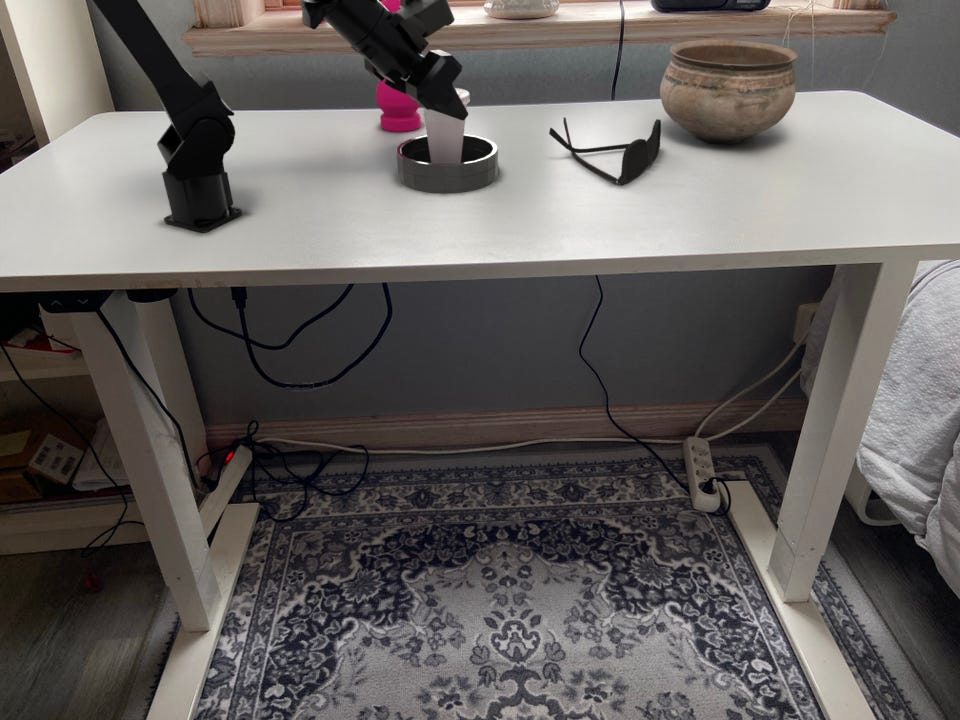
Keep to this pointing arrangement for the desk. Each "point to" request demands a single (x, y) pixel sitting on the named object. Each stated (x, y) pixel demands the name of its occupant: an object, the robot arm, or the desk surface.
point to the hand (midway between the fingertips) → (454, 111)
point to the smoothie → (445, 134)
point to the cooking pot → (728, 88)
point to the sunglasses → (634, 155)
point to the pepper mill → (396, 99)
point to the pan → (447, 166)
